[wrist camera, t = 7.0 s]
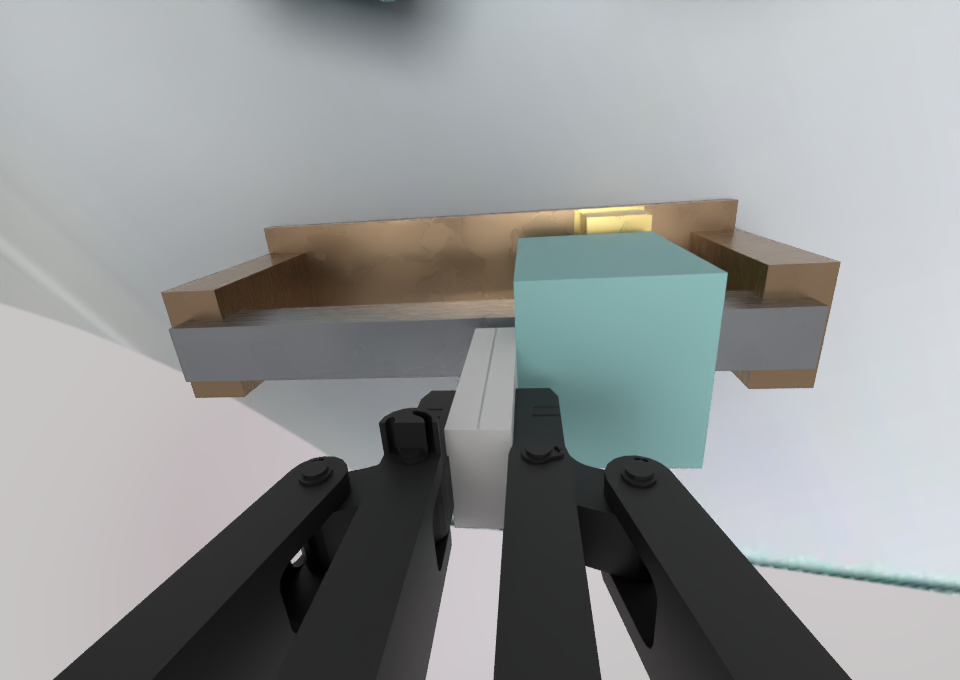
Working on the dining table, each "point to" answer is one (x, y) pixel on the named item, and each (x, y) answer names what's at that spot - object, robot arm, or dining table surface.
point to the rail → (470, 296)
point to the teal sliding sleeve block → (620, 342)
